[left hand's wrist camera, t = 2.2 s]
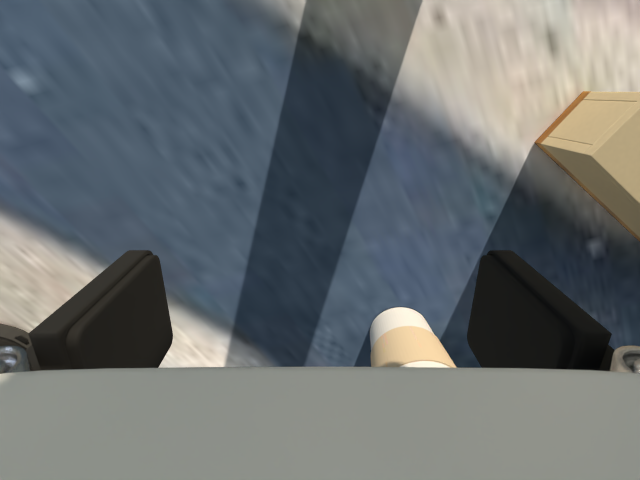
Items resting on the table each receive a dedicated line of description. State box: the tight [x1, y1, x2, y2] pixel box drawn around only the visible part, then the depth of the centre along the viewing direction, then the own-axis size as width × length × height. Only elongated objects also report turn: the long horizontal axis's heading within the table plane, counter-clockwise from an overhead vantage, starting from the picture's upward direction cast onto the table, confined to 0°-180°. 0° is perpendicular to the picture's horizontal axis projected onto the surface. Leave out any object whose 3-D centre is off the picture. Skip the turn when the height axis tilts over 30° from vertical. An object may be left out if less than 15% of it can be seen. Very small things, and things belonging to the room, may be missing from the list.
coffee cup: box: [370, 307, 457, 368], centre depth 37 cm, size 9×9×15 cm
